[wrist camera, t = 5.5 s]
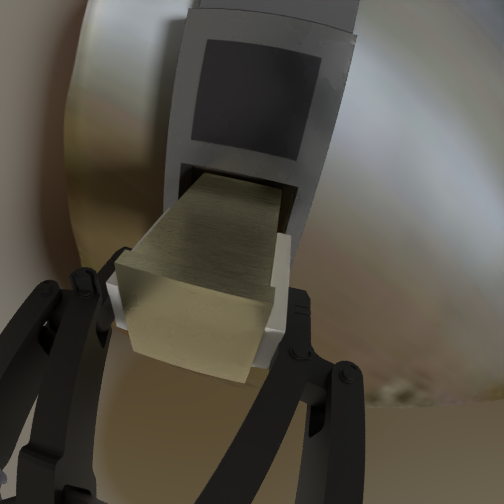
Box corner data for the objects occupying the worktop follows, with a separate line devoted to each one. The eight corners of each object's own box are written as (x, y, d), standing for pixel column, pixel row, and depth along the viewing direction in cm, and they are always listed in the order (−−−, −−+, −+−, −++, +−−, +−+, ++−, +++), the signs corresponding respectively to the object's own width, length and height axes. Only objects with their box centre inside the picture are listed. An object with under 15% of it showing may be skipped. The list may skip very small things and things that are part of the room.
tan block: (201, 169, 16) (114, 262, 8) (286, 187, 16) (273, 304, 8) (194, 239, 20) (133, 350, 11) (267, 257, 20) (244, 383, 11)
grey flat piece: (202, 17, 12) (188, 8, 10) (347, 42, 12) (357, 35, 10) (174, 269, 23) (163, 289, 21) (275, 294, 23) (273, 316, 21)
